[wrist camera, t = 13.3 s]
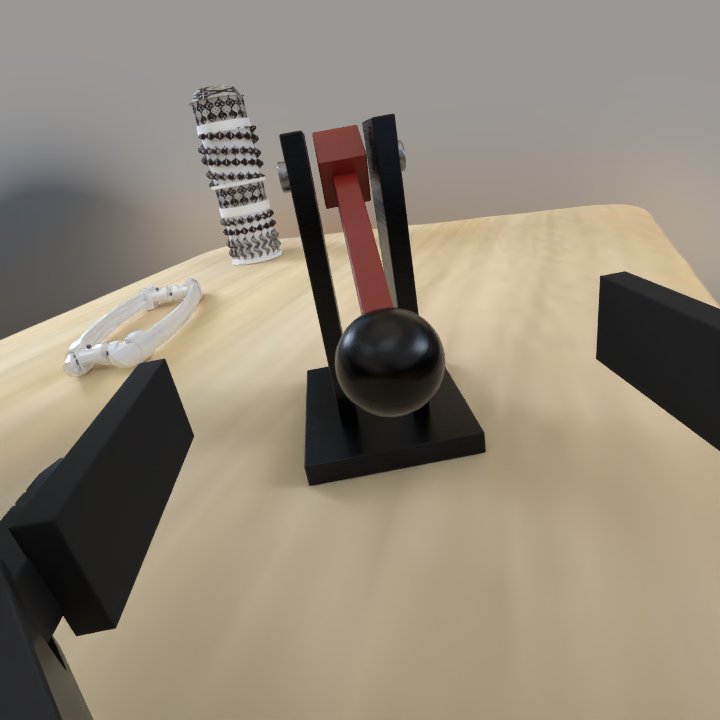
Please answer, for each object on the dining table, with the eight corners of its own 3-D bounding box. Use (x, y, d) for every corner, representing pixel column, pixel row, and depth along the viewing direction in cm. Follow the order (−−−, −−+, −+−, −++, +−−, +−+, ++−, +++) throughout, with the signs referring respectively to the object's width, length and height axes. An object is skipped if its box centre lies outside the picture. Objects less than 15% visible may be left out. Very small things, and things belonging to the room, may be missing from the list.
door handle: (42, 393, 41) (145, 303, 64) (154, 373, 41) (217, 290, 63) (28, 365, 40) (138, 283, 62) (142, 345, 40) (211, 270, 62)
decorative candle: (294, 252, 78) (255, 78, 67) (242, 268, 74) (191, 85, 63) (271, 248, 85) (233, 90, 75) (222, 262, 81) (174, 97, 70)
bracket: (485, 452, 24) (463, 97, 17) (309, 486, 24) (217, 142, 17) (435, 361, 34) (408, 115, 27) (310, 385, 34) (253, 143, 27)
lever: (455, 425, 16) (462, 362, 13) (350, 446, 16) (334, 387, 13) (376, 177, 25) (370, 108, 22) (309, 190, 25) (294, 122, 22)
